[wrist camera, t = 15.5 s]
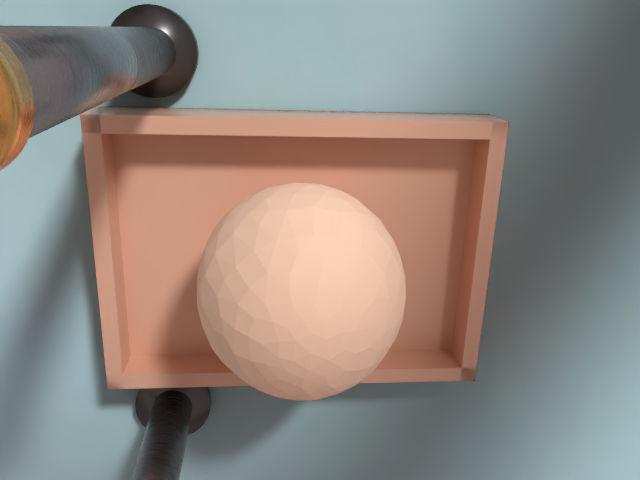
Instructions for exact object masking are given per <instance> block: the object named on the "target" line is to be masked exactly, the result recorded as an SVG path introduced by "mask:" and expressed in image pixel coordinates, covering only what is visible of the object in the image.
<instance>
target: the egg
mask: <svg viewBox="0 0 640 480" xmlns="http://www.w3.org/2000/svg"><path fill="white" fill-rule="evenodd" d="M405 301H406V283H405V273H404V269H403V265H402V261H401V257H400V254H399V252H398V249H397V247H396V245H395V242H394V240H393V239H392V237H391V236H390V234H389V232H388V231H387V229H386V228H385V226H384V225H383V223H382V222H381V220H380V219H379V218H378V217H377V216H376V215H374V214H373V213H372V212H371V211H370V210H369V209H368V208H367V207H365V206H364V205H363V204H362V203H361V202H360V201H359V200H358V199H356V198H354V197H352V196H350V195H349V194H347V193H345V192H343V191H341V190H338V189H335V188H331V187H328V186H325V185H322V184H310V183H289V184H284V185H279V186H274V187H269V188H266V189H264V190H262V191H259V192H257V193H255V194H253V195H251V196H248V197H246V198H245V199H244V200H243V201H241V202H240V203H239V204H238V205H237V206H236V207H234V208H233V209H232V210H231V211H230V212H228V213H227V214H226V215H225V216H224V217H223V218H222V219H221V220H220V222H219V223H218V224H217V225H216V227H215V228H214V230H213V232H212V234H211V235H210V237H209V239H208V241H207V243H206V246H205V249H204V252H203V255H202V258H201V261H200V264H199V267H198V275H197V306H198V311H199V315H200V319H201V323H202V327H203V329H204V332H205V334H206V336H207V339H208V341H209V343H210V346H211V348H212V349H213V351H214V352H215V353H216V355H217V356H218V357H219V359H220V360H221V361H222V362H223V363H224V364H225V365H226V366H227V367H228V368H229V369H230V370H231V371H233V372H234V373H235V374H236V375H237V376H238V377H240V378H241V379H242V380H243V381H244V382H246V383H247V384H248V385H250V386H252V387H254V388H256V389H257V390H259V391H261V392H264V393H266V394H269V395H272V396H274V397H277V398H283V399H289V400H299V401H302V400H319V399H322V398H326V397H329V396H332V395H336V394H339V393H341V392H343V391H345V390H347V389H349V388H352V387H354V386H355V385H356V384H358V383H359V382H360V381H362V380H363V379H364V378H365V377H367V376H368V375H369V374H371V373H372V372H373V371H374V369H375V368H376V367H377V366H378V365H379V363H380V362H381V361H382V360H383V358H384V357H385V355H386V353H387V352H388V350H389V349H390V347H391V345H392V344H393V342H394V341H395V339H396V337H397V335H398V332H399V329H400V326H401V323H402V320H403V315H404V308H405Z"/></svg>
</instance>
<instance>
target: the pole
mask: <svg viewBox="0 0 640 480" xmlns="http://www.w3.org/2000/svg"><path fill="white" fill-rule="evenodd" d="M210 400H211V399H210V393H209V390H208V388H207V387H184V388H141V389H140V390H139V393H138V396H137V399H136V413H137V416H138V418H139V420H140V421H141V423H142V424H143V425H144V426H145V427H146V430H145V434H144V437H143V440H142V444H141V447H140V451H139V454H138V457H137V461H136V464H135V468H134V471H133V475H132V478H131V480H179V478H180V473H181V467H182V462H183V457H184V451H185V446H186V440H187V435H189V434H191V433H193V432H195V431H196V430H198V429H199V428H200V427H201V426H202V425H203V424H204V422H205V421H206V419H207V417H208V414H209V409H210Z"/></svg>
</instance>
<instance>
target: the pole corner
mask: <svg viewBox="0 0 640 480" xmlns="http://www.w3.org/2000/svg"><path fill="white" fill-rule="evenodd" d="M198 56H199V52H198V45H197V41H196V38H195V35H194V33H193V31H192V29H191V28H190V26H189V25H188V24H187V22H186V21H185V20H184V19H183V18H182V17H181V16H180V15H178V14H177V13H175V12H174V11H172V10H170V9H168V8H165V7H162V6H158V5H151V4H144V5H137V6H134V7H131V8H129V9H127V10H125V11H124V12H122V13H121V14H120V15H119V16H118V17H117V18H116V19H115V20H114V22H113V23H112V25H111V27H92V26H0V170H2V169H3V168H5V167H6V166H8V165H9V164H10V163H11V162H12V161H13V160H14V159H15V158H16V157H17V156H18V155H19V154H20V152H21V151H22V150H23V148H24V146H25V144H26V143H27V141H28V138H30V137H32V136H34V135H36V134H39V133H41V132H43V131H45V130H47V129H49V128H51V127H53V126H56V125H58V124H60V123H62V122H64V121H66V120H68V119H70V118H73V117H75V116H77V115H79V114H81V113H83V112H85V111H87V110H90V109H92V108H94V107H96V106H98V105H100V104H102V103H104V102H107V101H109V100H111V99H113V98H115V97H117V96H119V95H121V94H123V93H126V92H128V91H132V92H134V93H136V94H138V95H141V96H145V97H151V98H161V97H166V96H169V95H172V94H174V93H176V92H178V91H179V90H181V89H182V88H183V87H184V86H185V85H187V84H188V82H189V81H190V80H191V78H192V77H193V75H194V73H195V71H196V68H197V65H198Z"/></svg>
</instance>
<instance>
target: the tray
mask: <svg viewBox="0 0 640 480" xmlns="http://www.w3.org/2000/svg"><path fill="white" fill-rule="evenodd" d="M80 118H81V128H82V138H83V148H84V158H85V168H86V178H87V188H88V198H89V208H90V218H91V228H92V238H93V248H94V258H95V268H96V278H97V288H98V298H99V308H100V318H101V328H102V338H103V348H104V358H105V368H106V378H107V388H108V389H141V388H184V387H226V386H250V385H248V384H247V383H246V382H244V381H243V380H242V379H241V378H240V377H238V376H237V375H236V374H235V373H234V372H233V371H231V370H230V369H229V368H228V367H227V366H226V365H225V364H224V363H223V362H222V361H221V360H220V359H219V357H218V356H217V355H216V353H215V352H214V351H213V349H212V348H211V346H210V343H209V341H208V339H207V336H206V334H205V332H204V329H203V327H202V323H201V319H200V315H199V311H198V306H197V275H198V267H199V264H200V261H201V258H202V255H203V252H204V249H205V246H206V243H207V241H208V239H209V237H210V235H211V234H212V232H213V230H214V228H215V227H216V225H217V224H218V223H219V222H220V220H221V219H222V218H223V217H224V216H225V215H226V214H227V213H228V212H230V211H231V210H232V209H233V208H234V207H236V206H237V205H238V204H239V203H240V202H241V201H243V200H244V199H245V198H246V197H248V196H251V195H253V194H255V193H257V192H259V191H262V190H264V189H266V188H269V187H274V186H279V185H284V184H289V183H310V184H322V185H325V186H328V187H331V188H335V189H338V190H341V191H343V192H345V193H347V194H349V195H350V196H352V197H354V198H356V199H358V200H359V201H360V202H361V203H362V204H363V205H364V206H365V207H367V208H368V209H369V210H370V211H371V212H372V213H373V214H374V215H376V216H377V217H378V218H379V219H380V220H381V222H382V223H383V225H384V226H385V228H386V229H387V231H388V232H389V234H390V236H391V237H392V239H393V240H394V242H395V245H396V247H397V249H398V252H399V254H400V257H401V261H402V265H403V269H404V273H405V283H406V301H405V308H404V315H403V320H402V323H401V326H400V329H399V332H398V335H397V337H396V339H395V341H394V342H393V344H392V345H391V347H390V349H389V350H388V352H387V353H386V355H385V357H384V358H383V360H382V361H381V362H380V363H379V365H378V366H377V367H376V368H375V369H374V371H373V372H372V373H371V374H369V375H368V376H367V377H365V378H364V379H363V380H362V381H360V382H359V383H396V382H439V381H475V375H476V368H477V360H478V353H479V345H480V338H481V330H482V323H483V315H484V308H485V300H486V293H487V285H488V278H489V270H490V263H491V255H492V248H493V240H494V233H495V225H496V218H497V211H498V203H499V196H500V188H501V181H502V173H503V166H504V158H505V151H506V143H507V136H508V128H509V122H507V121H505V120H502V119H499V118H497V117H494V116H492V115H489V114H446V113H395V112H344V111H293V110H242V109H190V108H139V107H95V108H93V109H90V110H88V111H86V112H84V113H82V114H80Z"/></svg>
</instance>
